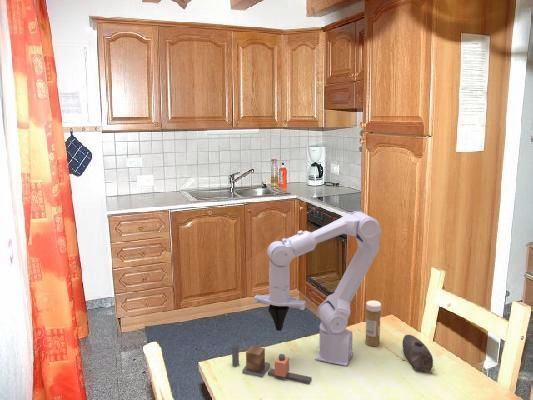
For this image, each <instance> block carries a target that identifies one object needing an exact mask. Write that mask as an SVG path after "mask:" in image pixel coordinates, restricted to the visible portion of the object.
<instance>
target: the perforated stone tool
mask: <svg viewBox="0 0 533 400" xmlns="http://www.w3.org/2000/svg"><path fill="white" fill-rule="evenodd" d="M402 349H403V352H404V354H405V356H406V358H407V359H408V361H409V363H410V365H411V366H412V367H414V368H415V370H417V371H424V372H425V371H426V372H428V371H431V370H432V368H433V365H434V357H433V355H432V353H431V351H430V350H429V348H428V347H427V346H426V345H425V344H424V342H422V341H421V340H420V339H419V338H417V337H415V336H414V335H413V334H406V335H405V336H404V337H403V338H402Z"/></svg>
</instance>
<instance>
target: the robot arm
mask: <svg viewBox="0 0 533 400" xmlns="http://www.w3.org/2000/svg"><path fill="white" fill-rule="evenodd" d="M382 232H383V230H382V228H381V225H380V223H379V220H377V219H376V218H374V217H371V216H370V215H368V214H366V213H364V211H361V210H354V211H351V212H350V213H345V214H344V215H342V216H341V217H340V218H338V219H336V220H334V221H332V222H330V223H328V224H327V225H324V226H322V227H319V228H318V229H316V230H314V231H312V232H311V231H308V230H304V231H303V230H301V229H300V230H299V231H297V234H295V235H293V236H290V237H288V238H285V237H283V238H282V239H281V240H275V241H273V242H271V243H270V245H269V246H268V247H267V250H266V254H267V257H268V258H269V264H268V265H269V268H268V288H269V289H268V294H256V295H255V296H254V297H253V304H254V305H256V304H257V305H258V304H263V305H269V307H268V309H267V310H268V312H269V314H270V316H271V318H272V320H273V323H274V326H275V331H278V332H281V331H282V330H283V328H284V323H285V318H286V316H287V314H288V312H289V309H290V308H292V309H299V311H300V310H301V311H304V310H305V309H306V300H301V299H299V298H294V297H291V296H290V291H291V290H290V275H291V274H290V273H291V272H290V264H291V262H292V261H293V259H295V258H298V257H299V256H302V255H305V254H306V253H307V254H308V253H309V252H312V251H314V250H315V248H316V246H317V244H319V243H322V242H325V241H327V240H330V239H332V238H335V237H338V236H341V235H348V236H352V237H354V238H355V241H356V242H357V245H358V248H357V249H356V251H355V252H354V255H353V256H352V259H351V261H350V262H349V265H348V266H347V267H346V270H345V271H344V274H343V275H342V277H341V279H340V281H339V282H338V284H337V287H336V288H335V290H334V292H333V293H331V294H330V295H327V297H326V299H325V300H324V301H323V302H321V303H320V304H319V305H318V307H317V311H316V312H317V316H318V318H319V319H320V322H319V323H320V324H319V345H318V346H319V347H318V348H319V350H318V352H317V354H316V356H315V358H314V360H315V361H319V362H325V363H329V364H335V365H341V366H345V367H346V366H348V365H349V363H350V360H351V358H352V355H353V331H352V330H349V329H347V327H348V325H349V318H350V316H351V302H352V301H353V299H354V298H355V297H354V296H355V295H356V293H357V292H358V290H359V287H360V286H361V284H362V282H363V280H364V278H365V277H366V275H367V273H368V271H369V269H370V268H371V266H372V264H373V262H374V260H375V258H376V257H377V255H378V253H379V251H380V237H381V235H382Z"/></svg>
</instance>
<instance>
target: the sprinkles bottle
mask: <svg viewBox="0 0 533 400" xmlns="http://www.w3.org/2000/svg"><path fill="white" fill-rule="evenodd" d="M365 309H366V310H365V311H366V313H365V314H366V316H365V340H364V342H365V344H366V345H367V346H370V347H377V346H379V345H380V343H381V340H380V337H381V336H380V335H381V312H382V303H381V302H380V301H377V300H368V301H367V302H366V303H365Z"/></svg>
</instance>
